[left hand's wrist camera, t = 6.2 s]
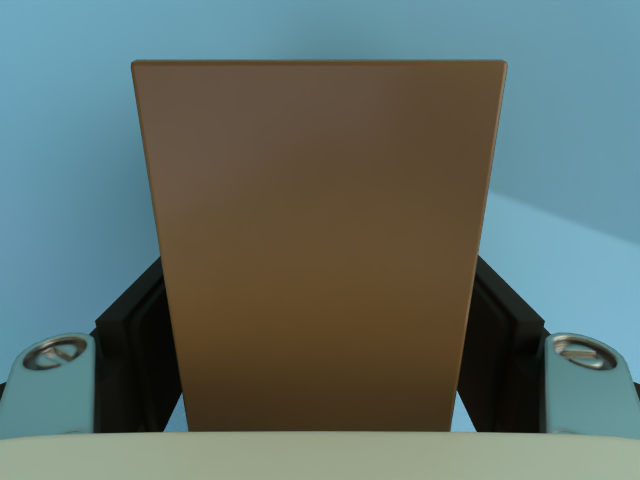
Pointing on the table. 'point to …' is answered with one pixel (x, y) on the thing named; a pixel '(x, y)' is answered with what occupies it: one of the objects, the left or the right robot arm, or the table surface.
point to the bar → (319, 234)
